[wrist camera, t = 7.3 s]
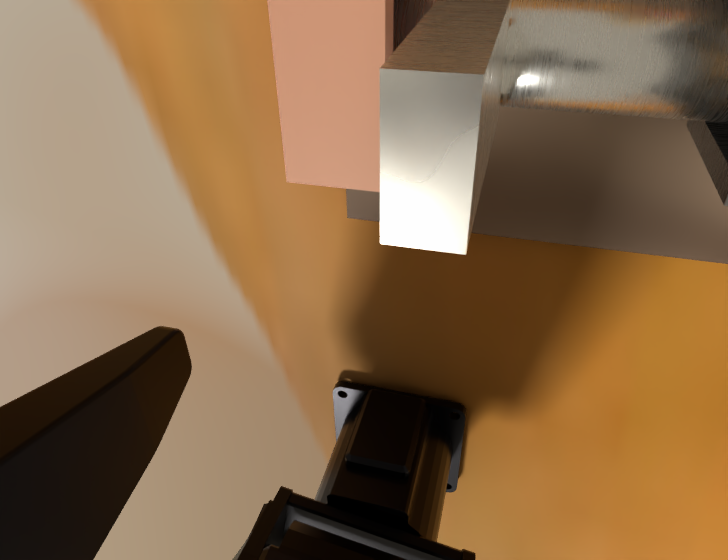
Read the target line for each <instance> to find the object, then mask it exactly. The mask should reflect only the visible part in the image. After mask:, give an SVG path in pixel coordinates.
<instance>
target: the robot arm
mask: <svg viewBox="0 0 728 560" xmlns="http://www.w3.org/2000/svg"><path fill="white" fill-rule="evenodd" d="M191 368H192V366H191V359H190V356H189V352H188V348H187V344H186V341H185V337H184V334H183V332H182V331H181V330H179V329H176V328H170V327H164V326H159V327H156V328H153V329H152V330H149V331H148V332H146V333H144V334H142V335H140V336H138V337H136V338H134V339H132V340H130V341H128V342H126V343H124V344H122V345H120V346H118V347H116V348H114V349H112V350H110V351H109V352H107V353H105V354H103V355H101V356H99V357H97V358H95V359H93V360H91V361H89V362H87V363H85V364H83V365H81V366H79V367H77V368H75V369H73V370H71V371H70V372H68V373H66V374H64V375H62V376H60V377H58V378H56V379H54V380H52V381H50V382H48V383H46V384H44V385H42V386H40V387H38V388H36V389H35V390H32V391H31V392H29V393H27V394H25V395H23V396H21V397H19V398H17V399H15V400H13V401H11V402H9V403H7V404H5V405H3V406H1V407H0V560H93V559H94V558H95V556H96V554H97V552H98V551H99V549H100V547H101V545H102V544H103V542H104V540H105V539H106V537H107V535H108V533H109V531H110V530H111V528H112V526H113V525H114V523H115V521H116V520H117V518H118V516H119V514H120V513H121V511H122V509H123V508H124V506H125V504H126V502H127V501H128V499H129V497H130V495H131V494H132V492H133V490H134V489H135V487H136V485H137V483H138V482H139V480H140V478H141V477H142V475H143V473H144V471H145V469H146V468H147V466H148V464H149V463H150V461H151V459H152V457H153V455H154V454H155V452H156V450H157V448H158V446H159V444H160V442H161V440H162V437H163V435H164V433H165V431H166V429H167V426H168V424H169V422H170V419H171V417H172V415H173V413H174V411H175V408H176V406H177V404H178V402H179V400H180V397H181V395H182V393H183V390H184V388H185V386H186V384H187V382H188V379H189V377H190V374H191ZM343 391H344V392H343ZM333 401H334V415H335V429H336V445H335V447H334V450H333V453H332V455H331V458H330V460H329V463H328V466H327V468H326V471H325V474H324V476H323V479H322V481H321V484H320V487H319V489H318V492H317V495H316V497H315V500H314V499H311V498H308V497H305V496H302V495H299V494H296V493H293V490H292V489H289V488H286V487H283V486H281V487H280V489H279V491H278V493H277V495H276V496H275V498H274V500H273V501H271V500H270V501H269V503H267V504H264V505H263V508H262V510H261V512H260V514H259V517H258V519H257V521H256V523H255V525H254V527H253V529H252V531H251V533H250V535H249V537H248V539H247V540H246V542H245V543H244V545H243V546H242V547H241V549H240V550H239V551H238V553H237V554H236V556H235V557H234V558H233V560H475V553H474V552H471V551H468V550H465V549H462V551H461V550H458V549H455V548H452V547H449V546H447V545H444V544H441V543H438V542H437V538H438V532H439V526H440V521H441V515H442V510H443V504H444V499H445V493H446V492H454V491H455V490H456V488H457V482H458V474H459V466H460V459H461V451H462V443H463V435H464V427H465V419H466V408H465V407H464V406H463V405H462V404H460V403H457V402H452V401H446V400H441V399H436V398H430V397H425V396H420V395H414V394H409V393H404V392H398V391H393V390H388V389H382V388H377V387H371V386H366V385H361V384H355V383H350V382H345V381H340V382H338V383H337V384H336V385H335V387H334V390H333ZM453 412H456V413H453Z"/></svg>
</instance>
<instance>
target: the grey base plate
mask: <svg viewBox="0 0 728 560" xmlns="http://www.w3.org/2000/svg"><path fill="white" fill-rule="evenodd" d="M687 121H688V120H683V119H669V118H655V117H641V116H627V115H613V114H599V113H585V112H571V111H557V110H543V109H529V108H515V107H501V106H499V111H498V119H497V125H496V130H495V134H494V138H493V142H492V147H491V151H490V155H489V159H488V164H487V168H486V172H485V176H484V181H483V185H482V189H481V193H480V198H479V202H478V206H477V210H476V215H475V219H474V223H473V227H472V231H471V233H477V234H485V235H493V236H501V237H510V238H518V239H526V240H535V241H543V242H551V243H559V244H568V245H576V246H584V247H592V248H601V249H609V250H617V251H625V252H634V253H642V254H650V255H658V256H667V257H675V258H683V259H691V260H700V261H708V262H716V263H725V264H728V206H724V205H723V203H722V200H721V198H720V196H719V194H718V192H717V190H716V188H715V185H714V183H713V181H712V179H711V177H710V175H709V173H708V171H707V168H706V166H705V164H704V162H703V160H702V158H701V156H700V153H699V151H698V149H697V147H696V145H695V143H694V141H693V139H692V136H691V134H690V132H689V130H688V128H687V126H686V124H687ZM346 194H347V218H353V219H361V220H369V221H378V222H380V192H373V191H364V190H355V189H346Z"/></svg>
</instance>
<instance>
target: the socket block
mask: <svg viewBox="0 0 728 560" xmlns="http://www.w3.org/2000/svg"><path fill="white" fill-rule="evenodd" d="M267 1H268V11H269V20H270V29H271V39H272V48H273V58H274V67H275V76H276V86H277V95H278V104H279V114H280V123H281V133H282V142H283V151H284V161H285V170H286V179H287V182H291V183H300V184H309V185H318V186H327V187H336V188H346V189H355V190H364V191H373V192H380V67H381V66H382V65H383V64H384V63H385V61H386V60H387V59H388V58H389V57H390V55H391V54H392V53H393V12H394V0H267Z"/></svg>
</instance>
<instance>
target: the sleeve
mask: <svg viewBox="0 0 728 560" xmlns="http://www.w3.org/2000/svg"><path fill="white" fill-rule="evenodd" d="M686 126H687V128H688V130H689V132H690V134H691V136H692V139H693V141H694V143H695V145H696V147H697V149H698V151H699V153H700V156H701V158H702V160H703V162H704V164H705V166H706V168H707V171H708V173H709V175H710V177H711V179H712V181H713V183H714V185H715V188H716V190H717V192H718V194H719V196H720V198H721V200H722V203H723V205H724V206H728V123H725V122H711V121H697V120H688V121H687V124H686Z"/></svg>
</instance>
